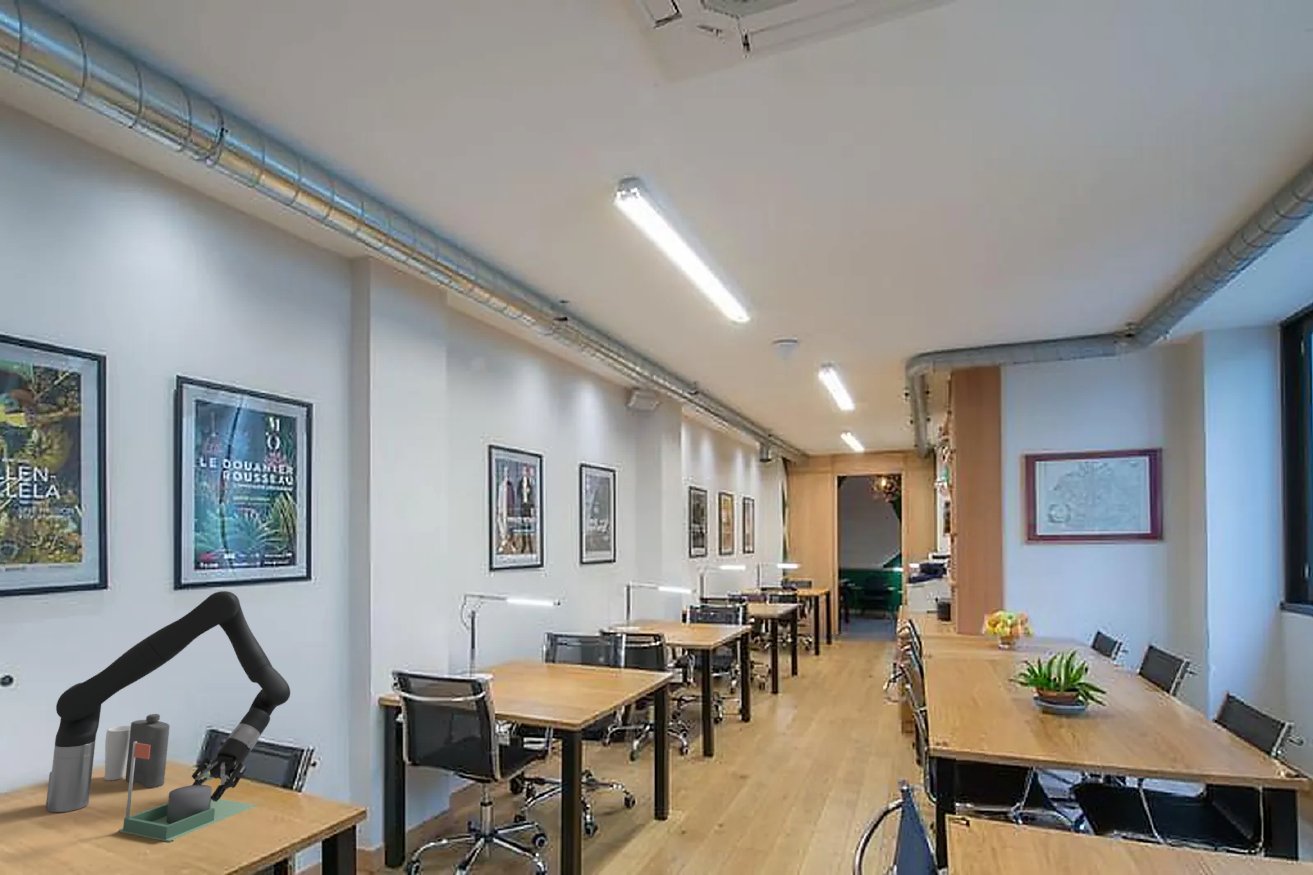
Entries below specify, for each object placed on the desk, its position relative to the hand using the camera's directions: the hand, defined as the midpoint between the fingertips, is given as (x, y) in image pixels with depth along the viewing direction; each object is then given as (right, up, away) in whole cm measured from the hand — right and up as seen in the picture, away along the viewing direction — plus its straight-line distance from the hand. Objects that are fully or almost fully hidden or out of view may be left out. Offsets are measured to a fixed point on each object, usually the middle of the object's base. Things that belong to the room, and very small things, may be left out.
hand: (201, 798), depth 213 cm
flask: (-32, -7, +25) cm, 41 cm away
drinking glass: (-43, -7, +28) cm, 52 cm away
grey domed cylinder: (-1, -4, -4) cm, 5 cm away
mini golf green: (-1, -4, -3) cm, 5 cm away
